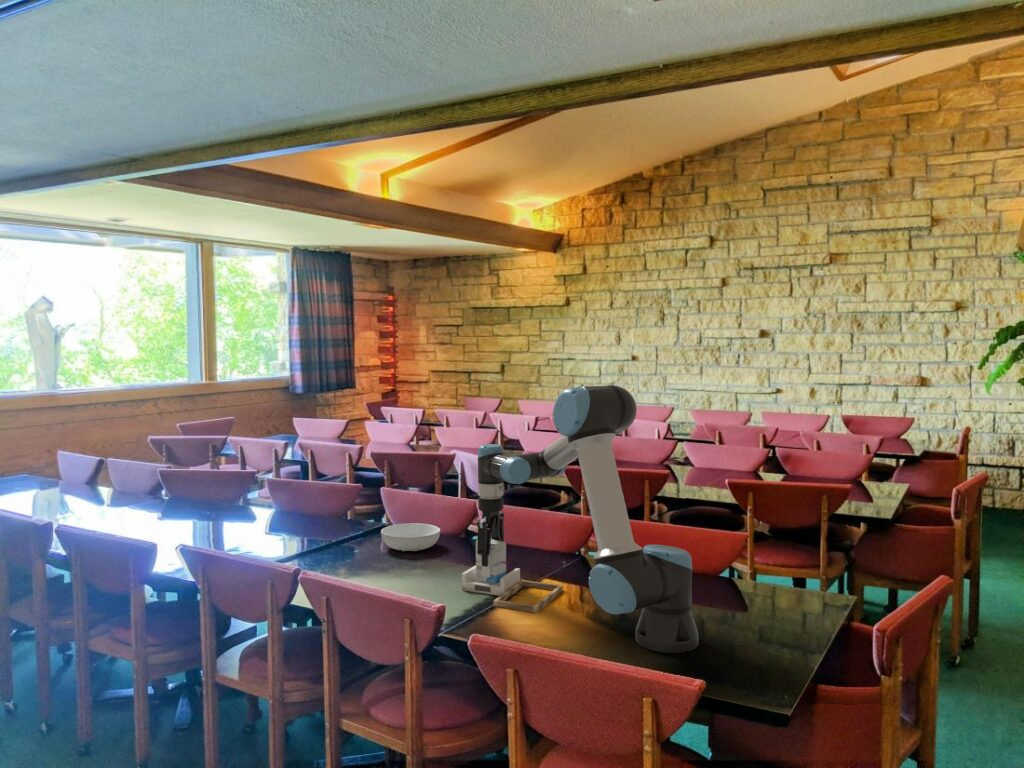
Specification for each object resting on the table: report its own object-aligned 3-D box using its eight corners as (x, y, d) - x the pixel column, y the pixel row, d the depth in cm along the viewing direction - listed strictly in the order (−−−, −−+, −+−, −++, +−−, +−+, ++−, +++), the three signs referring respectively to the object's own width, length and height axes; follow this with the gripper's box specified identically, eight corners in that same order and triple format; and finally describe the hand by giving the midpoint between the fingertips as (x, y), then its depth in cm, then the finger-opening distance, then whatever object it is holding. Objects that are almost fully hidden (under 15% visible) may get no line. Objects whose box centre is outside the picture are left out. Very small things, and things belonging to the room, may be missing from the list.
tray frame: (536, 612, 203) (536, 607, 203) (493, 606, 208) (493, 600, 208) (562, 590, 221) (562, 585, 221) (522, 584, 226) (522, 579, 226)
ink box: (507, 580, 223) (507, 541, 222) (496, 584, 219) (495, 545, 218) (486, 574, 229) (485, 536, 228) (475, 578, 225) (474, 540, 224)
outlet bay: (503, 596, 216) (503, 579, 215) (461, 590, 221) (461, 573, 221) (520, 584, 226) (520, 568, 226) (479, 579, 232) (479, 563, 232)
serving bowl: (437, 556, 257) (436, 537, 256) (376, 556, 257) (375, 537, 256) (443, 540, 277) (443, 522, 277) (387, 540, 278) (386, 522, 277)
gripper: (488, 503, 212) (488, 584, 214) (515, 491, 230) (515, 566, 231) (464, 501, 215) (465, 580, 217) (493, 489, 233) (493, 563, 234)
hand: (491, 573), depth 224 cm, fingers closed on ink box, 6 cm apart
